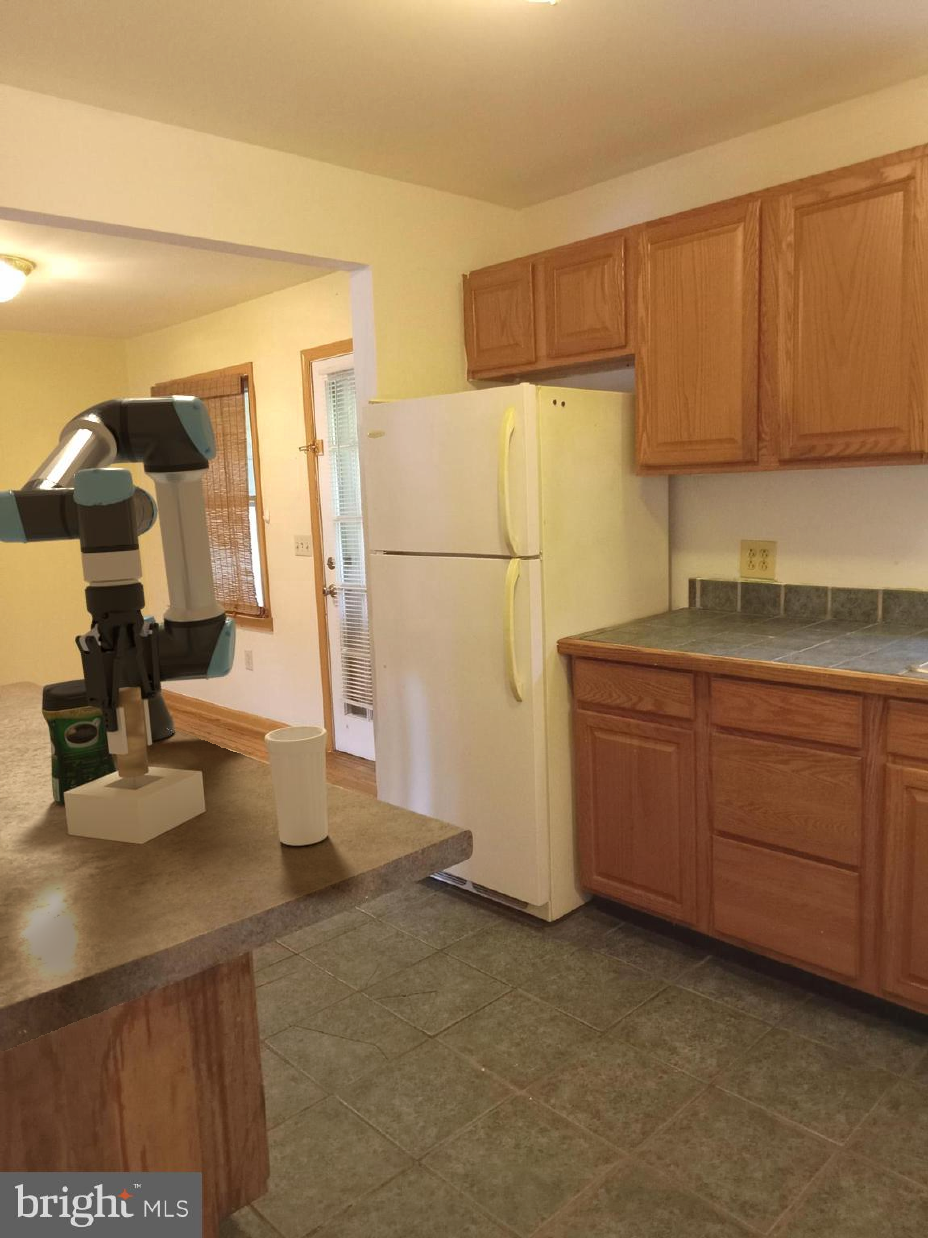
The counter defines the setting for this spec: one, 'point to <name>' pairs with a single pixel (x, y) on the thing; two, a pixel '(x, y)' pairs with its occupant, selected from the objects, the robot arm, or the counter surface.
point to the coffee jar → (75, 737)
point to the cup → (299, 782)
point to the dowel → (133, 735)
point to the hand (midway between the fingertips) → (130, 748)
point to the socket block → (134, 805)
